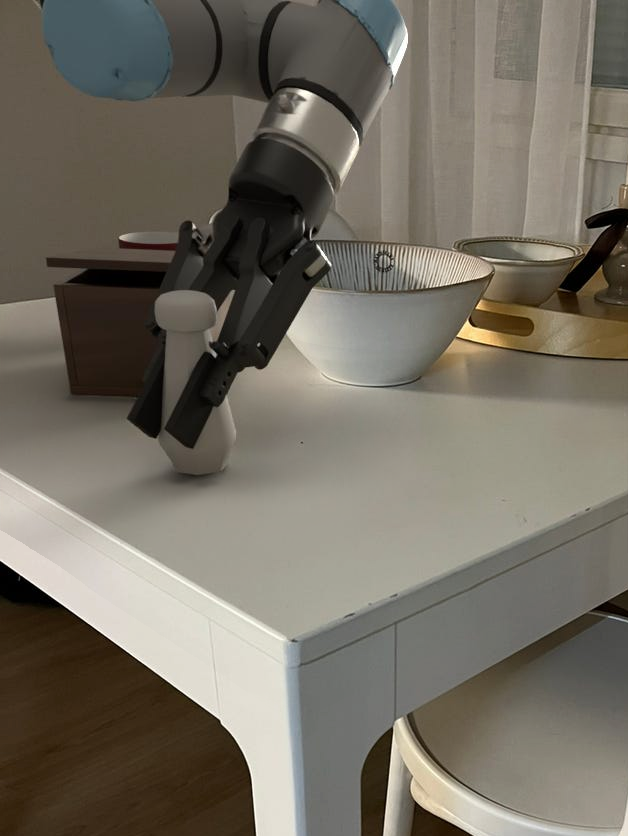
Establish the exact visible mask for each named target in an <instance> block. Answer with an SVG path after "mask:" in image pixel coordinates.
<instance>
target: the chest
mask: <svg viewBox="0 0 628 836" xmlns="http://www.w3.org/2000/svg"><path fill="white" fill-rule="evenodd" d="M165 275H166V272H155V271H131V270H107V269H82V268H78V270H76V271H74V272H73V273H71V274H69V275H67V276H66V277H64V278H62V279H60V280H59V281H57V282H56V283H54V284H53V293H54V298H55V299H54V300H55V304H56V310H57V316H58V317H57V318H58V323H59V330H60V335H61V341H62V347H63V353H64V361H65V366H66V372H67V378H68V384H69V392H70V394H71V395H88V396H89V395H90V396H91V395H92V396H93V395H94V396H114V397H115V396H117V397H118V396H119V397H138V395H139V394H140V392H141V390H142V388H143V386H144V384H145V383H144V382H143V375H144V373H145V371H146V369H147V367H148V365H149V364H150V361H151V359H152V357H153V355H154V354H155V352H156V350H157V347H158V341H157V340H156V339H155V338H154V337H153V336H152V335H151V334H150V333H149V332H148V331H147V330H146V329H145V328H144V324H145V321H146V319H147V316H148V314H149V312H150V309H151V307H152V305H153V302H154V300H155V298H156V295H157V293H158V291H159V288H160V286H161V284H162V282H163V279H164V277H165ZM231 297H232V296H231V292H230V293H229V295H228V296H227V298H226V299H225V301H224V302H223V304H222V305H221V307H220V309H219V310H218V312H217V321H216V324H215V326H214V327H212V328H210V332H211V336H212V340H213V341H214V342H217V340H218V337H219V334H220V331H221V329H222V326H223V323H224V320H225V317H226V315H227V312H228V309H229V306H230V303H231V301H232V298H231ZM216 355H217V354H216Z"/></svg>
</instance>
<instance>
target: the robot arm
mask: <svg viewBox="0 0 628 836" xmlns="http://www.w3.org/2000/svg"><path fill="white" fill-rule="evenodd" d="M32 2H33V3H34V4H35V5H36V7H38V9H39V10H40V11H41V18H40V19H41V33H42V37H43V41H44V44H45V45H46V46H47V48H48V51H49V54H50V56H51V58H52V64H53V66H54V67H55V69H56V70H57V72H58V73H59V74H60V76H61V77H62V78H63V79H64V80H65V81H66V82H67V83H68V84H69V85H71V86H72V87H73V88H75V89H76V90H77V91H79V92H81V93H83V94H85V95H87V96H91V97H94V98H101V99H112V100H116V101H127V102H137V101H138V102H139V101H146V100H147V99H160V98H161V99H162V98H174V97H175V98H176V97H177V98H178V97H188V98H192V97H193V98H195V97H216V96H217V97H218V96H232V97H233V96H234V97H240V98H244V99H249V100H254V101H258V102H262V103H266V105H267V106H266V107H265V109H264V111H263V113H262V115H261V117H260V119H259V120H258V123H257V125H256V127H255V128H254V131H253V133H252V135H251V138H250V141H249V142H248V143H247V144H246V145H245V147H244V149H243V151H242V153H241V155H240V156H239V158H238V161H237V162H236V163H235V166H234V168H233V170H232V172H231V173H230V176H229V179H228V184H227V185H228V186H227V187H228V197H227V202H226V204H225V205H224V207H222V208H221V210H220V211H218V212H217V213H216V214H215V216H214V217H213V220H212V222H211V223H207V224H203V225H200V226H196V225H195V223H193V221H192V220H187V219H186V220H185V221H183V222H182V223H181V224H180V225H179V228H178V233H179V237H178V247H177V249H176V251H175V254H174V256H173V258H172V261H171V263H170V265H169V268H168V270H167V272H166V275H165V277H164V279H163V282H162V284H161V286H160V288H159V291H158V293H157V295H156V298H155V300H154V302H153V305H152V307H151V309H150V312H149V314H148V316H147V319H146V321H145V324H144V328H145V329H146V330H147V331H148V332H149V333H150V334H151V335H152V336H153V337H154V338H155V339H156V340H157V341H158V347H157V350H156V352H155V354H154V355H153V357H152V359H151V361H150V364H149V365H148V367H147V369H146V371H145V373H144V375H143V382H144V383H145V384H144V386H143V388H142V390H141V392H140V394H139V395H138V396H136V397H137V398H136V400H135V401H134V404H133V406H132V407H131V409H130V411H129V413H128V415H127V417H126V420H127V421H128V422H130V423H131V424H132V425H133V426H134V427H136V428H137V429H138V430H140V431H141V432H142V433H143V434H144V435H146V436H147V437H148V438H151V439H155V440H157V439H158V435H159V433H160V431H161V419H162V396H163V377H164V366H165V349H166V334H167V330H165V329H162V328H161V327H160V326H158V324H157V322H156V317H155V302H156V300H157V299H158V297H159V296H160V295H161V294H164V293H168V292H171V291H179V290H190V291H198V292H202V293H206V294H207V295H209V296H210V297H211V298H212V299H213V300H214V301H215V305H216V309H217V312H218V310H219V309H220V307H221V305H222V304H223V302H224V301H225V299H226V298H227V296H228V295H229V293H230V294H231V292H232V291H234V292H233V295H232V298H231V303H230V306H229V309H228V312H227V315H226V317H225V320H224V323H223V326H222V329H221V331H220V334H219V337H218V340H217V342H214V341H212V342H211V341H209V347H210V348H211V349H212V350H213V351H214V352H215V353H216V354H217V356H216V358H215V357H214V356H213V355H212V354H211V353H209V352H204V353H203V354H202V356H201V357H200V359H199V361H198V362H197V364H196V366H195V368H194V370H193V372H192V374H191V376H190V378H189V380H188V382H187V384H186V386H185V388H184V390H183V392H182V394H181V396H180V398H179V400H178V402H177V404H176V406H175V408H174V410H173V412H172V414H171V416H170V418H169V420H168V422H167V424H166V426H165V428H164V430H166V431H167V432H168V433H169V434H170V435H172V436H173V437H174V438H175V439H176V440H178V441H179V442H180V443H181V444H182V445H183V446H185V447H187V448H190V449H193V448H194V446H195V444H196V442H197V440H198V438H199V436H200V434H201V432H202V430H203V428H204V426H205V424H206V422H207V420H208V418H209V416H210V414H211V412H212V409H213V407H217V408H218V407H219V406H220V405H221V404H222V403H223V401H224V399H225V397H226V395H227V396H228V393H229V391H230V389H231V387H232V385H233V383H234V381H235V379H236V377H237V375H238V373H241V372H243V371H244V370H245V369H246V368H252V367H254V368H255V369H256V370H257V371H258V370H260V371H261V370H264V369H265V368H267V366H268V365H269V364H270V361H271V360H272V358H273V357H274V355H275V353H276V351H277V349H278V348H279V346H280V344H281V343H282V341H283V339H284V338H285V336H286V334H287V332H288V331H289V330H290V328H291V326H292V324H293V322H294V320H295V319H296V317H297V316H298V313H299V312H300V311H301V309H302V307H303V305H304V304H305V301H306V300H307V298H308V297H309V295H310V293H311V291H312V290H313V288H314V287H315V286H316V285H317V284H318V283H320V281H321V280H322V279H323V278H324V277H325V276H326V275H328V273H329V272H330V271H331V269H332V263H331V262H330V261H329V259H328V258H327V256H326V254H325V253H324V252H323V250H322V248H321V247H320V246H319V245H318V243H317V242H316V241H315V240H312V239H314V238H316V236H318V234H319V232H320V231H321V228H322V226H323V225H324V223H325V220H326V218H327V216H328V214H329V213H330V210H331V208H332V206H333V204H334V201H335V196H338V194H339V192H340V191H341V189H342V186H343V184H344V182H345V180H346V178H347V176H348V174H349V171H350V169H351V167H352V165H353V163H354V161H355V159H356V157H357V155H358V152H359V150H360V147H361V146H362V142H363V140H364V138H365V136H366V134H367V132H368V131H369V129H370V126H371V124H372V123H373V121H374V119H375V117H376V115H377V113H378V111H379V109H380V107H381V105H382V103H383V101H384V99H385V98H386V96H387V95H388V92H389V91H391V89H392V87H394V84H395V78H396V75H397V73H398V70H399V68H400V65H401V63H402V60H403V58H404V55H405V52H406V50H407V46H408V39H409V37H408V36H409V34H408V29H407V27H406V22H405V20H404V17H403V15H402V13H401V11H400V9H399V8H398V6H397V5H396V3H394V1H393V0H318V1H317V3H316V5H310V4H308V3H303V2H299V1H291V0H32ZM258 344H259V345H258Z"/></svg>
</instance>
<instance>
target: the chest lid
mask: <svg viewBox="0 0 628 836" xmlns="http://www.w3.org/2000/svg"><path fill="white" fill-rule="evenodd" d="M174 254H175V251H166V250H142V249H119V247H118V248H117V247H116V248H115V247H97V248H90V249H85V250H80V251H75V252H69V253H62V254H57V255H52V256H46V257H45V263H46V267H47V268H59V269H81V268H82V269H107V270H131V271H155V272H167V270H168V268H169V265H170V263H171V261H172V258H173V256H174Z"/></svg>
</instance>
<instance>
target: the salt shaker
mask: <svg viewBox="0 0 628 836" xmlns="http://www.w3.org/2000/svg"><path fill="white" fill-rule="evenodd" d="M155 317H156V322H157V324H158V326H160V327H161V328H162V329H165V330H167V334H166V349H165V366H164V377H163V396H162V419H161V431H160V433H159V435H158V437H157V439H158V443H159V445H160V447H161V448H162V450H163V451H164V453H165V454H166V456H167V457H168V458H169V460H170V461H171V463H172V465H173V467H174V469H175V471H176V472H177V473H183V474H189V475H195V476H201V475H207V474H213V473H220V472H222V471H223V469H224V468H225V467H226V466H227V465H228V464H229V462H230V458H231V455H232V452H233V450H234V446H235V444H236V440H237V430H236V426H235V423H234V418H233V413H232V410H231V406H230V403H229V399H228V394H227V395H226V397H225V399H224V401H223V403H222V404H221V405H220V406H219V407H218V408H217V407H213V409H212V412H211V414H210V416H209V418H208V420H207V422H206V424H205V426H204V428H203V430H202V432H201V434H200V436H199V438H198V440H197V442H196V444H195V446H194V448H193V449H190V448H187V447H185V446H183V445H182V444H181V443H180V442H179V441H178V440H176V439H175V438H174V437H173V436H172V435H170V434H169V433H168V432H167V431H166V430H164V428H165V426H166V424H167V422H168V420H169V418H170V416H171V414H172V412H173V410H174V408H175V406H176V404H177V402H178V400H179V398H180V396H181V394H182V392H183V390H184V388H185V386H186V384H187V382H188V380H189V378H190V376H191V374H192V372H193V370H194V368H195V366H196V364H197V362H198V361H199V359H200V357H201V356H202V354H203V353H204V352H209V353H211V354H212V355H213V356H214V357H215V358H216V356H217V355H216V353H215V352H214V351H213V350H212V349H211V348H210V347H209V341H211V342H212V341H213V340H212V336H211V332H210V328H212V327H214V326H215V324H216V321H217V309H216V305H215V301H214V300H213V299H212V298H211V297H210V296H209V295H207V294H206V293H202V292H198V291H190V290H179V291H171V292H168V293H164V294H161V295H160V296H159V297H158V299H157V300H156V302H155Z"/></svg>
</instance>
